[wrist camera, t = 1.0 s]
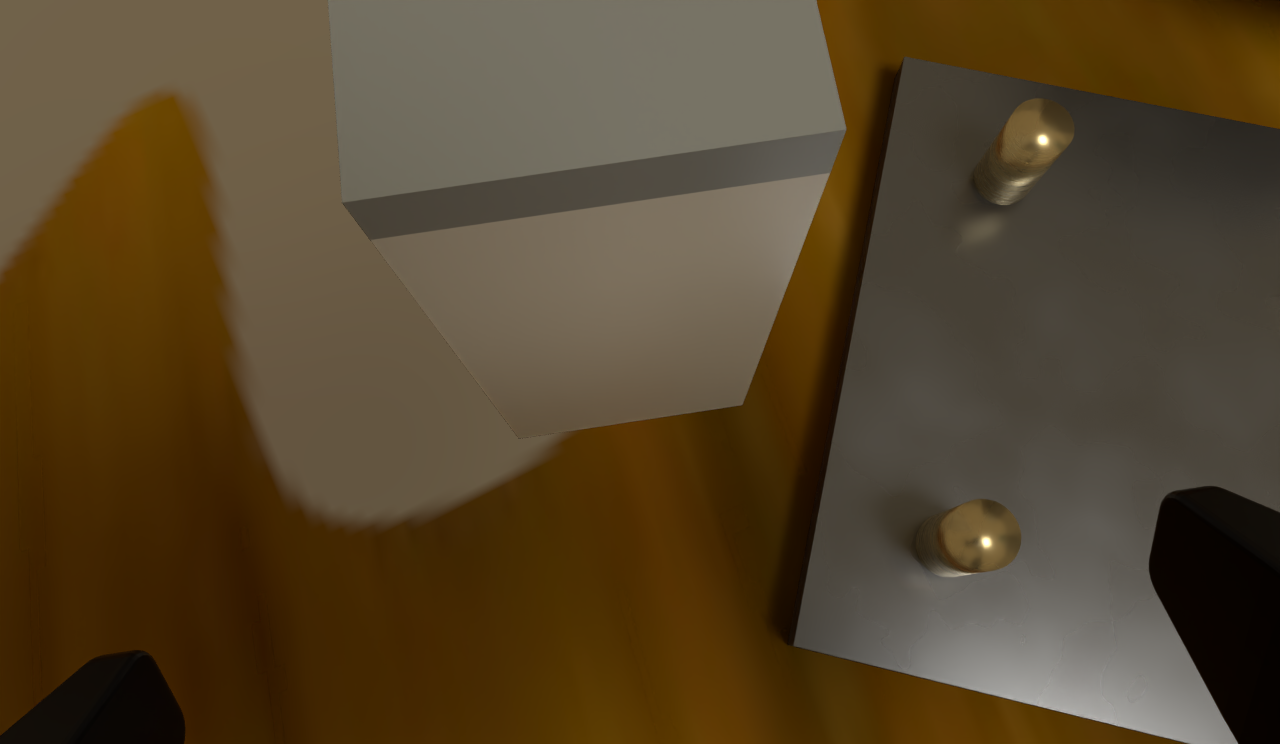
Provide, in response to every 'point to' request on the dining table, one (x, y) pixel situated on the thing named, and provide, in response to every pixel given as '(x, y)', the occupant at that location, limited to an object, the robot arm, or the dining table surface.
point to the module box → (589, 187)
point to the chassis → (1044, 392)
